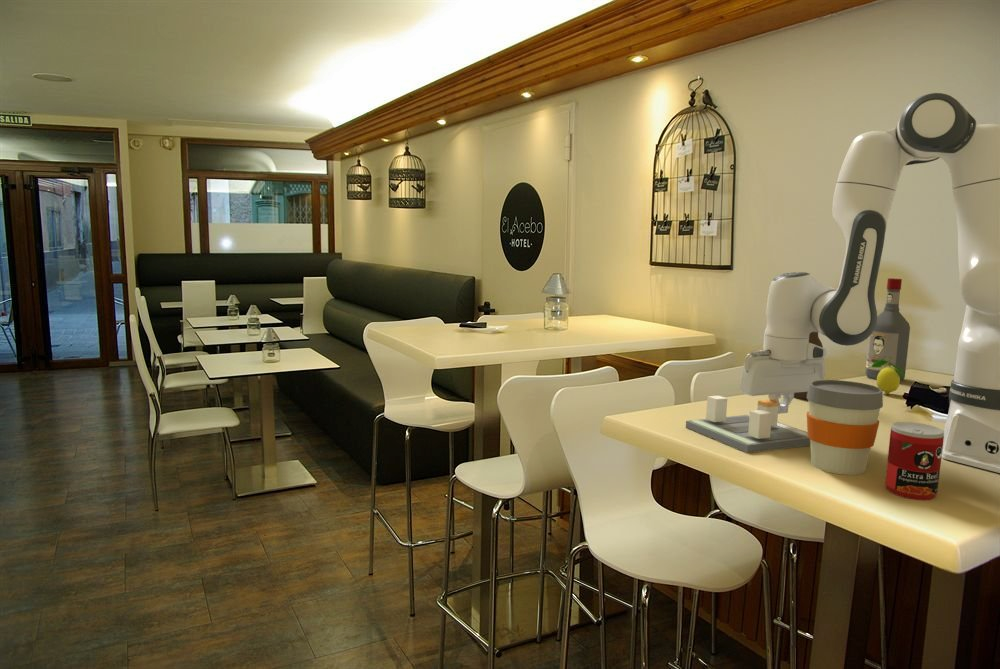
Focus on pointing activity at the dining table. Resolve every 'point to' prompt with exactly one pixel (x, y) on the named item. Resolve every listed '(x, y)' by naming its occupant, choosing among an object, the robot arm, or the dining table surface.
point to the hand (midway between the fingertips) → (779, 413)
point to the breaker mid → (769, 409)
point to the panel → (737, 435)
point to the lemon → (888, 376)
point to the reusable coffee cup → (842, 424)
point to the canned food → (914, 460)
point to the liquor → (889, 335)
